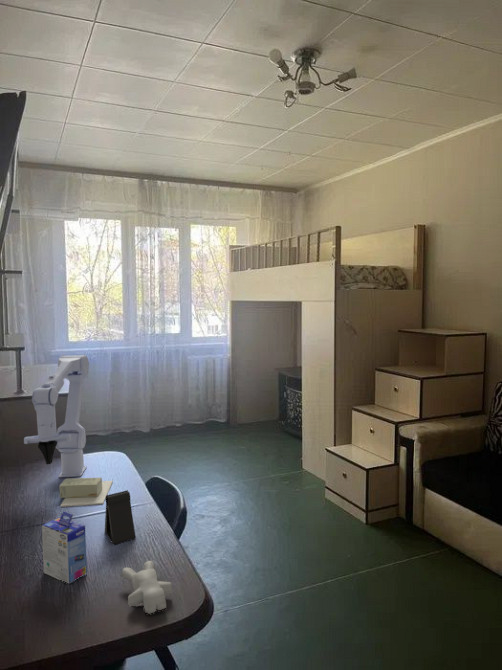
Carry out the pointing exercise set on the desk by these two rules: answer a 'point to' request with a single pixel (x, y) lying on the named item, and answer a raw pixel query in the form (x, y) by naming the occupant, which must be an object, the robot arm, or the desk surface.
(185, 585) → the desk surface
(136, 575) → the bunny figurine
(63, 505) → the mat
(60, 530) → the ink cartridge box
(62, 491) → the skincare box
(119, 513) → the phone stand
